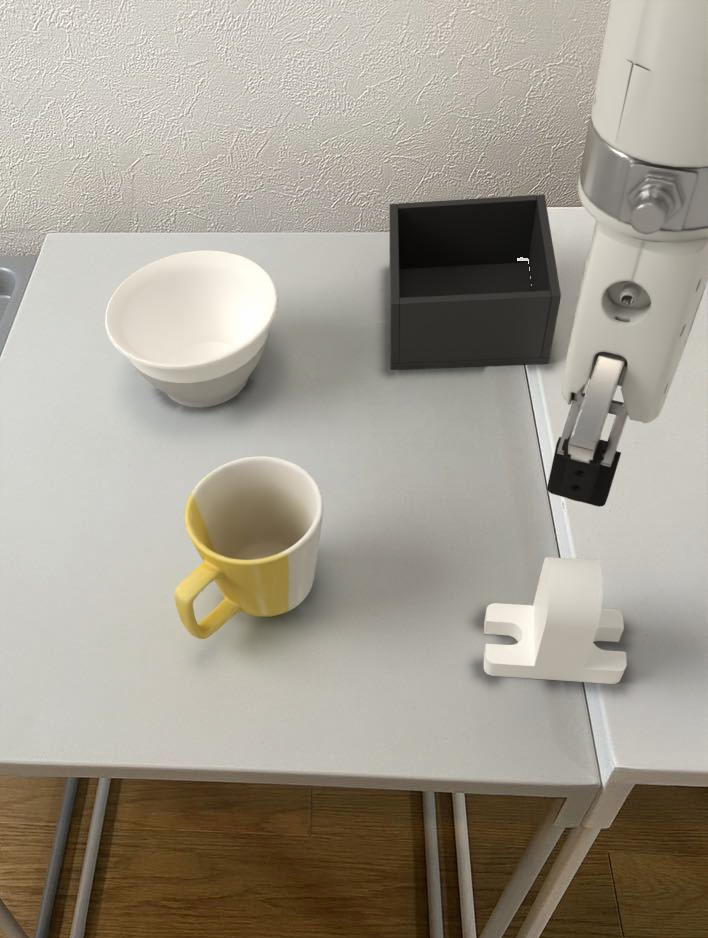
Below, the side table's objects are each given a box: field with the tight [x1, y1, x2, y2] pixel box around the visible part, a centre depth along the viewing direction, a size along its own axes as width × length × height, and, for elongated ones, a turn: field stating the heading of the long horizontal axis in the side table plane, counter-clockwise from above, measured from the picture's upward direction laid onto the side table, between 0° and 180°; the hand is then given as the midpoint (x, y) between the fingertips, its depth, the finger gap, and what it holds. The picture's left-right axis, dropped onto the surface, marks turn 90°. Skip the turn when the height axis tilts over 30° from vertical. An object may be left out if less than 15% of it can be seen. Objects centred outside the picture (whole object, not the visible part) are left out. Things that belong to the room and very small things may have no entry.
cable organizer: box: [483, 556, 628, 685], centre depth 66 cm, size 5×10×10 cm, turn 82°
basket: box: [388, 194, 562, 370], centre depth 89 cm, size 15×15×8 cm
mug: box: [173, 455, 324, 640], centre depth 72 cm, size 14×10×10 cm
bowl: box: [104, 249, 279, 408], centre depth 88 cm, size 16×16×8 cm
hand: (600, 435), depth 54 cm, fingers open, 9 cm apart
